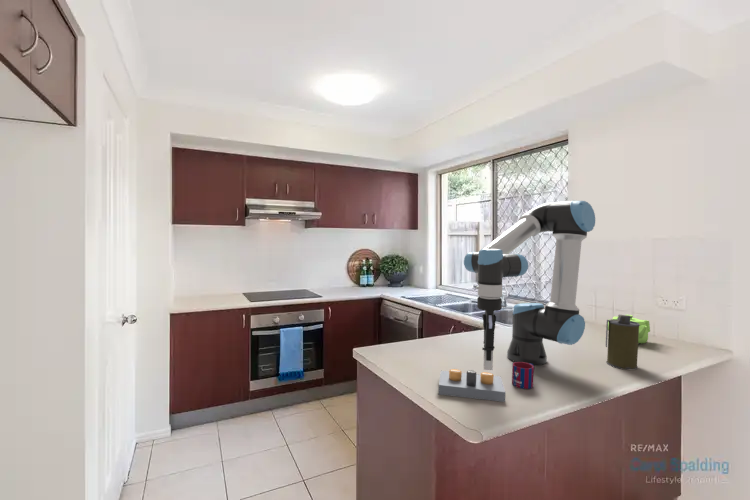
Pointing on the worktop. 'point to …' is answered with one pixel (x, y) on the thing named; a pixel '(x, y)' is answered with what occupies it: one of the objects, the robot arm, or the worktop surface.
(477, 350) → the worktop surface
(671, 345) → the worktop surface
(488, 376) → the knob
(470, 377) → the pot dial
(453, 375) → the knob
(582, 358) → the worktop surface
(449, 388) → the mount
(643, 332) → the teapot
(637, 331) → the canister
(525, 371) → the mug
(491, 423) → the worktop surface
